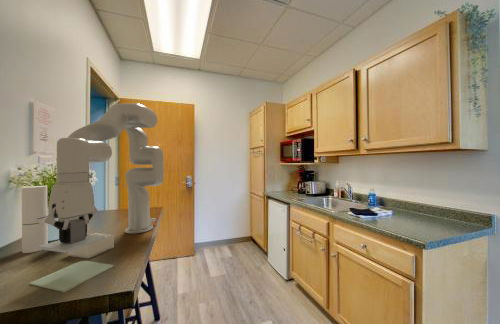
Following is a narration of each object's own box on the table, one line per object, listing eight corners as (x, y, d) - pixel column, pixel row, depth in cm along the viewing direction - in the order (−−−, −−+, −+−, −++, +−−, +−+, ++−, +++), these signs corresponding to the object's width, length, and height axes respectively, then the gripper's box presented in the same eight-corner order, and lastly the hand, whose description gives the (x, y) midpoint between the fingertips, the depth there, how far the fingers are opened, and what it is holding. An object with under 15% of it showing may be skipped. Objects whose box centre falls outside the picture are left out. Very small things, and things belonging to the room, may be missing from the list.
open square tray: (95, 245, 86) (95, 233, 86) (114, 247, 83) (113, 235, 83) (68, 255, 76) (68, 242, 76) (88, 258, 73) (88, 244, 73)
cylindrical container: (52, 246, 85) (51, 185, 85) (28, 254, 78) (28, 187, 78) (41, 244, 87) (40, 185, 87) (17, 251, 80) (17, 187, 81)
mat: (82, 261, 71) (82, 260, 71) (113, 266, 67) (113, 265, 67) (29, 284, 58) (29, 282, 58) (64, 292, 54) (64, 290, 54)
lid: (79, 236, 69) (79, 215, 69) (104, 238, 66) (104, 217, 66) (38, 249, 59) (38, 225, 59) (66, 253, 56) (65, 227, 56)
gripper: (92, 177, 72) (92, 230, 72) (29, 181, 56) (29, 249, 55) (108, 177, 70) (109, 231, 69) (48, 181, 54) (48, 252, 53)
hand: (73, 238), depth 62 cm, fingers closed on lid, 4 cm apart
